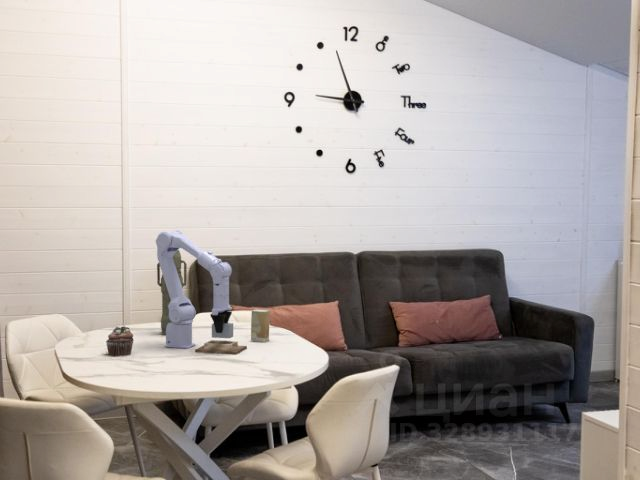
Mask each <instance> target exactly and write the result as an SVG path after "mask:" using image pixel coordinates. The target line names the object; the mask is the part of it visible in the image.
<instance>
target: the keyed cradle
mask: <svg viewBox="0 0 640 480" xmlns="http://www.w3.org/2000/svg"><path fill="white" fill-rule="evenodd" d="M247 349H248V347H247V345H239V341H237V340H235V341H234V340H219V339H218V340H216V339H211V340H208V341H207V342H204V343H203V345H202V346H199V347H198V348H195V349H194V352H195V353H201V354H202V353H203V354H218V355H220V354H219V353H221V355H222V354H223V355H239V354H240V353H242V352H244V351H246V350H247Z"/></svg>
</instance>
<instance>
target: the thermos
mask: <svg viewBox="0 0 640 480" xmlns="http://www.w3.org/2000/svg"><path fill="white" fill-rule="evenodd" d="M173 260H174V263H175V267H176V270H177V273H178V276H179V279H180V282H181V285H182V288H183V287H186V286H187V282H188V281H187V279H188V278H187V274H188V272H187V269H188V267H187V263H186V261H185V260H182V254H181V251H180V249H178V250H177V251H176V252H175V254H174V256H173ZM182 264H183V276H182ZM156 276H157V277H156V278H157V281H156V282H157V283H156V284H157V285H158V286H159V287H160V291H161V292H160V293H161V309H162V310H161V311H162V312H161V320H160V328H161V335H162V336H166V327H167V324H168V323H172V321H171V320H170V318H169V308H168V305H169V303H170V302H171V299H170V296H169V293H168V289H167V286H166V283H165V280H164V277H163V274H162V275H161V267H160V264H159V262H157V264H156ZM183 289H184V288H183Z"/></svg>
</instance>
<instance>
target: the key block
mask: <svg viewBox="0 0 640 480" xmlns="http://www.w3.org/2000/svg"><path fill="white" fill-rule="evenodd" d="M233 337H234V322H228V323H224V324H223V331H222V333H216V330H215V326H214V322H212V323H211V338H213V339H217V338H218V339H231V338H233Z"/></svg>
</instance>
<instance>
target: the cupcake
mask: <svg viewBox="0 0 640 480" xmlns="http://www.w3.org/2000/svg"><path fill="white" fill-rule="evenodd" d="M107 337H108V339H107V340H105V343H106V349H107V353H108V355H109V356H111V357H123V356H129V355H131V353H132V349H133V345H134V338H133V337H134V334H133V333H132V332H131V329H130V327H127V326H125V325H123V326H121V327H120V326H115V328H114V329H113V330H112V332H111V333H109V334H108V336H107Z"/></svg>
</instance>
